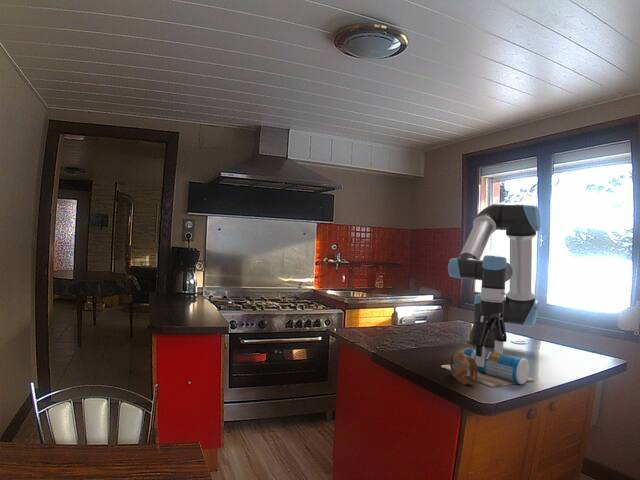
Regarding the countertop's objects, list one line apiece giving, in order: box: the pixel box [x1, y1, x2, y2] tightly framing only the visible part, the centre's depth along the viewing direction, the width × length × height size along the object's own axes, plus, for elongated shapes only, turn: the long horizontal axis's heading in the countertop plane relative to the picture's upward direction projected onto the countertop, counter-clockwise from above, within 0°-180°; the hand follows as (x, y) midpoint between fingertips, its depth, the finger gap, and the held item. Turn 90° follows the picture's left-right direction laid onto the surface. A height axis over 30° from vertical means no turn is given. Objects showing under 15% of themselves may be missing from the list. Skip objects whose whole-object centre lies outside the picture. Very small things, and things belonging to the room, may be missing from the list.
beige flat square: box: [440, 364, 535, 388], centre depth 145 cm, size 20×22×1 cm
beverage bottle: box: [463, 347, 530, 385], centre depth 143 cm, size 8×8×20 cm
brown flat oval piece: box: [449, 351, 477, 386], centre depth 136 cm, size 15×3×8 cm, turn 5°
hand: (489, 363), depth 144 cm, fingers open, 13 cm apart
